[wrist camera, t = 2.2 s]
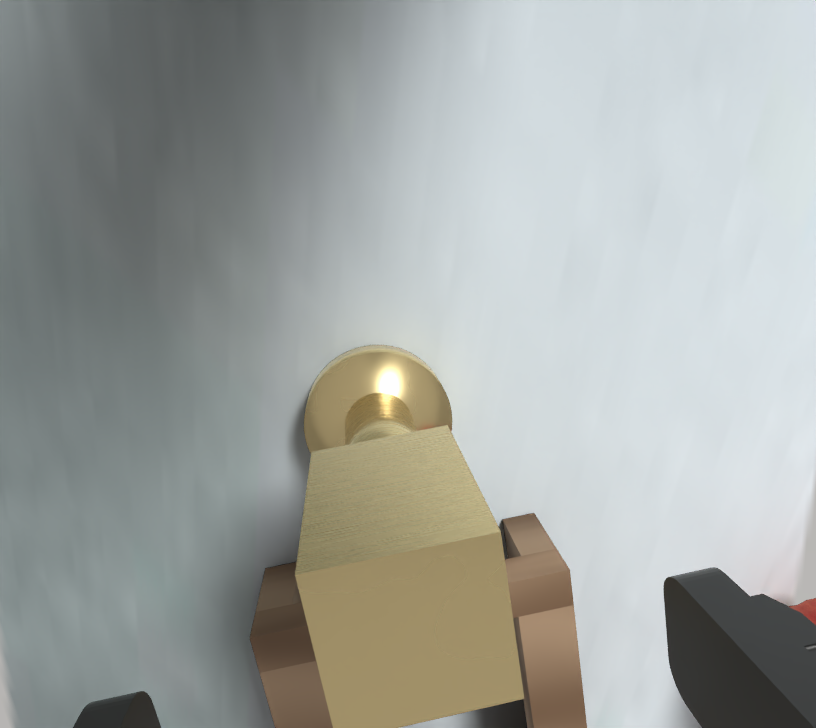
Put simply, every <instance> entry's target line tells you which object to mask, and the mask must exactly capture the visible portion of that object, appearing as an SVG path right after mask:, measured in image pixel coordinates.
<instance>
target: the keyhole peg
mask: <svg viewBox="0 0 816 728" xmlns="http://www.w3.org/2000/svg"><path fill="white" fill-rule="evenodd" d="M451 430H452V412H451V407H450V403H449V400H448V397H447V395H446V392H445V391H444V389H443V387H442V385H441V383H440V382H439V380H438V378H437V377H436V375H435V374H434V372H433V371H432V370H431V368H430V367H429V366H428V365H427V364H426V363H425V362H424V361H422V360H421V359H420V358H418V357H417V356H415V355H414V354H412V353H410V352H408V351H406V350H403V349H401V348H397V347H393V346H387V345H369V346H362V347H358V348H355V349H352V350H350V351H347V352H345V353H343V354H341V355H340V356H338V357H336V358H335V359H334V360H332V361H331V362H330V363H329V364H328V365H327V366H326V367H325V368H324V369H323V370H322V371H321V372H320V374H319V375H318V376H317V378H316V380H315V381H314V383H313V385H312V388H311V390H310V393H309V396H308V400H307V405H306V410H305V417H304V433H305V439H306V443H307V446H308V449H309V451H310V453H311V459H310V467H309V474H308V481H307V489H306V496H305V504H304V511H303V519H302V526H301V534H300V541H299V549H298V556H297V563H296V571H295V577H296V581H297V585H298V589H299V593H300V597H301V601H302V605H303V609H304V613H305V617H306V621H307V625H308V629H309V633H310V637H311V641H312V645H313V649H314V653H315V657H316V661H317V665H318V670H319V674H320V678H321V682H322V686H323V690H324V694H325V698H326V702H327V706H328V710H329V714H330V718H331V722H332V726H333V728H399V727H403V726H408V725H412V724H416V723H421V722H425V721H430V720H434V719H438V718H443V717H447V716H451V715H456V714H460V713H465V712H469V711H473V710H478V709H482V708H486V707H491V706H495V705H500V704H504V703H508V702H513V701H517V700H522V699H524V692H523V685H522V678H521V671H520V664H519V657H518V650H517V643H516V636H515V628H514V621H513V614H512V607H511V600H510V593H509V586H508V579H507V572H506V565H505V557H504V550H503V543H502V536H501V531H500V529H499V527H498V525H497V523H496V521H495V519H494V517H493V515H492V513H491V511H490V509H489V507H488V505H487V503H486V501H485V499H484V497H483V495H482V493H481V491H480V489H479V487H478V485H477V483H476V481H475V479H474V477H473V475H472V473H471V471H470V469H469V467H468V465H467V463H466V461H465V459H464V457H463V455H462V453H461V451H460V449H459V447H458V445H457V443H456V441H455V439H454V437H453V435H452V433H451Z"/></svg>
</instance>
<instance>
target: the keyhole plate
mask: <svg viewBox="0 0 816 728" xmlns="http://www.w3.org/2000/svg"><path fill="white" fill-rule="evenodd" d="M503 526H504V533H505V541H506V548H507V555H508V559H505V565H506V572H507V579H508V586H509V593H510V600H511V607H512V614H513V621H514V628H515V636H516V643H517V650H518V657H519V664H520V671H521V678H522V685H523V692H524V699H523V700H524V707H525V714H526V721H527V728H587V724H586V715H585V706H584V696H583V687H582V678H581V669H580V660H579V650H578V641H577V632H576V623H575V614H574V604H573V595H572V586H571V577H570V569H569V568H568V566H567V565H566V563H565V561H564V560H563V558H562V557H561V555H560V554H559V552H558V550H557V549H556V547H555V546H554V544H553V542H552V541H551V539H550V538H549V536H548V534H547V533H546V531H545V530H544V528H543V526H542V525H541V523H540V522H539V520H538V518H537V517H536V515H535V514H534V513H532V514H527V515H522V516H517V517H512V518H507V519H503ZM296 563H297V562H294V563H289V564H284V565H280V566H275V567H270V568H265V572H264V577H263V581H262V586H261V590H260V594H259V599H258V603H257V608H256V612H255V616H254V621H253V625H252V630H251V634H250V641H251V645H252V648H253V652H254V655H255V659H256V662H257V666H258V669H259V673H260V676H261V680H262V683H263V687H264V690H265V694H266V697H267V701H268V704H269V708H270V711H271V715H272V718H273V722H274V726H275V728H333V726H332V722H331V718H330V714H329V710H328V706H327V702H326V698H325V694H324V690H323V686H322V682H321V678H320V674H319V670H318V665H317V661H316V657H315V653H314V649H313V645H312V641H311V637H310V633H309V629H308V625H307V621H306V617H305V613H304V609H303V605H302V601H301V597H300V593H299V589H298V585H297V581H296V577H295V571H296Z"/></svg>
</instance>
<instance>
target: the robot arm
mask: <svg viewBox="0 0 816 728" xmlns="http://www.w3.org/2000/svg"><path fill="white" fill-rule="evenodd" d="M664 602H665V616H666V629H667V643H668V656H669V664H670V668H671V672H672V675H673V678H674V681H675V684H676V686H677V688H678V691H679V693H680V695H681V697H682V699H683V700H684V702H685V704H686V705H687V707H688V708H689V710H690V711H691V712H692V714H693V715H694V717H695V718H696V719H697V721H698V722H699V724H700V725H701V727H702V728H816V625H815V624H814V623H813V622H811V621H810V620H809V619H808V618H807V617H806V616H804V615H803V614H802V613H801V612H798V611H796V610H794V609H792V608H790V607H788V606H786V605H784V604H782V603H780V602H778V601H776V600H774V599H772V598H770V597H768V596H766V595H764V594H760V595H755V596H751V597H750V596H749V595H748V594H747V593H746V592H744V591H743V590H742V589H741V588H740V587H739V586H738V585H737V584H736V583H735V582H734V581H732V580H731V579H730V578H729V577H728V576H727V575H726V574H725V573H724V572H722V571H721V570H720V569H718V568H708V569H703V570H699V571H694V572H690V573H685V574H681V575H676V576H672V577H668V578H666V580H665V582H664ZM73 728H161V726H160V723H159V720H158V717H157V714H156V711H155V708H154V705H153V703H152V700H151V698H150V696H149V695H148V694H147V693H146V692H144V691H141V692H136V693H131V694H127V695H122V696H118V697H113V698H109V699H104V700H100V701H95V702H91V703H89V704H88V705H87V706H86V707H85V708H84V709H83V711H82V712H81V714H80V716H79V718H78V719H77V721H76V723H75V725H74V727H73Z"/></svg>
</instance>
